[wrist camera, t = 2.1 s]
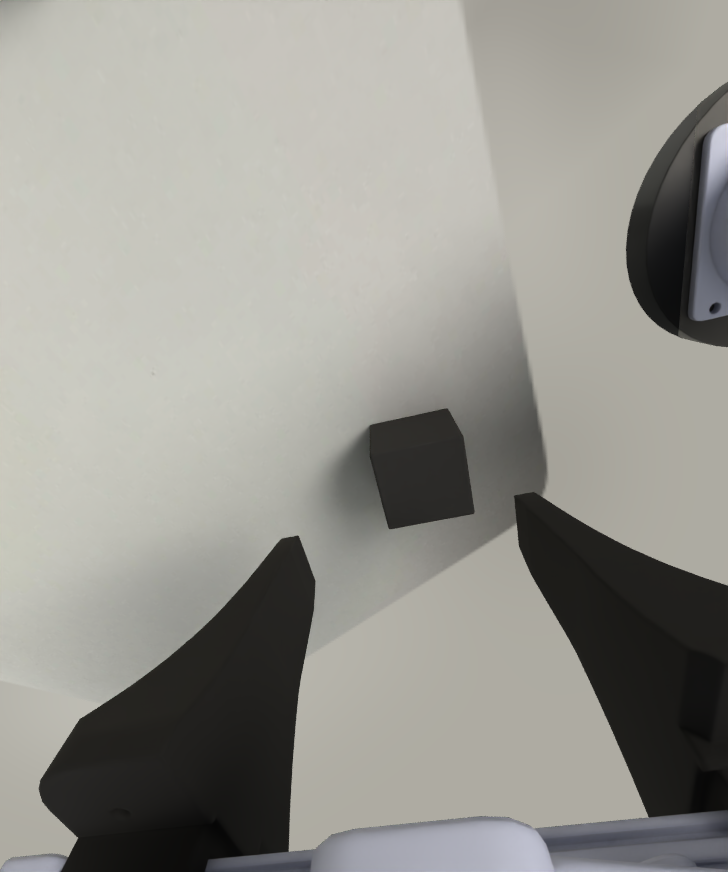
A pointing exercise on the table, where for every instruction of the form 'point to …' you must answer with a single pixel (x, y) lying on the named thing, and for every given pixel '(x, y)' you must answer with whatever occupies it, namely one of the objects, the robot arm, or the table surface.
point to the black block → (421, 469)
